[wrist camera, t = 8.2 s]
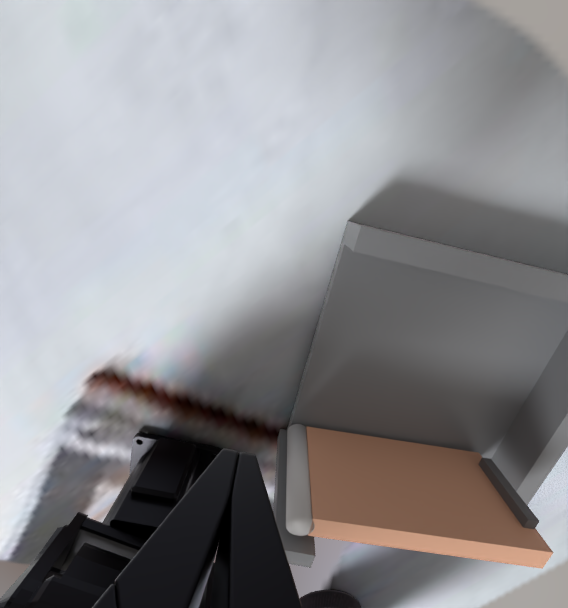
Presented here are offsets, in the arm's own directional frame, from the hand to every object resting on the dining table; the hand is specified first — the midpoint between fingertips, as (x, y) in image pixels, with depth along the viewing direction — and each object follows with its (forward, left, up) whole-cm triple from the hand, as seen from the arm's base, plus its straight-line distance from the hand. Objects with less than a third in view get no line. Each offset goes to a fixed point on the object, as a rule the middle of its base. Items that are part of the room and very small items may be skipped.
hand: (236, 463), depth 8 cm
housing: (-1, -11, -12) cm, 16 cm away
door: (-7, -10, -11) cm, 16 cm away
